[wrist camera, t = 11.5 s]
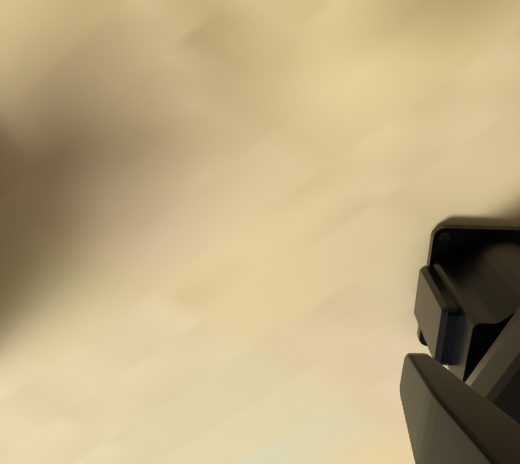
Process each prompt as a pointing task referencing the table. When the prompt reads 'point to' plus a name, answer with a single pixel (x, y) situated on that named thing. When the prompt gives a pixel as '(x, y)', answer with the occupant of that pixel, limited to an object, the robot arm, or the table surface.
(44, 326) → the table surface
